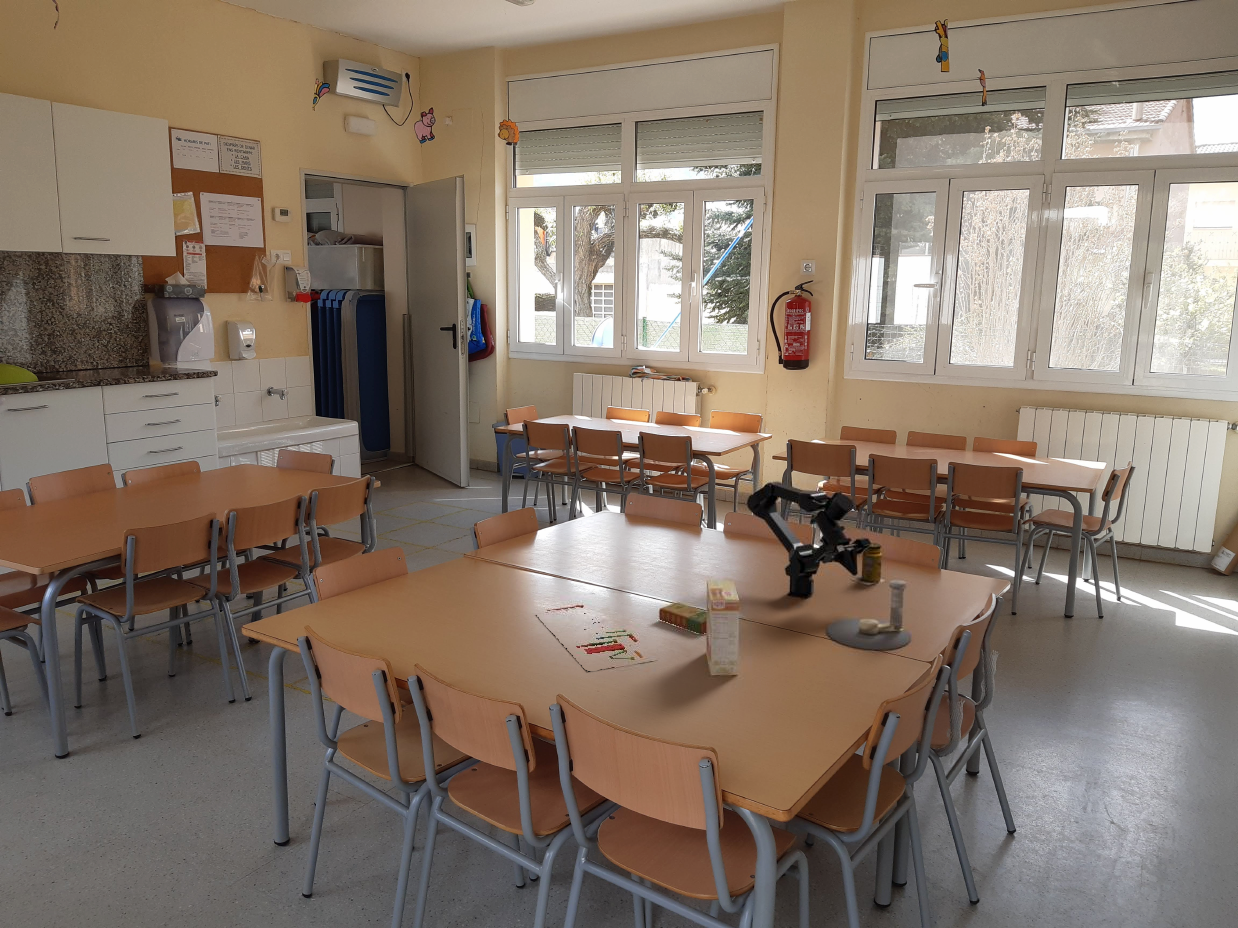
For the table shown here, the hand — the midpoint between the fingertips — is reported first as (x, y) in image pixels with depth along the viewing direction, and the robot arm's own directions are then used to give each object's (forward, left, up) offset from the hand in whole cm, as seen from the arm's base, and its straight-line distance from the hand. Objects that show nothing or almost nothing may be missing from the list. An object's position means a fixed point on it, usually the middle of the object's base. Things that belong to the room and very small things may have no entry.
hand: (855, 575), depth 255 cm
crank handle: (+10, -11, -11) cm, 19 cm away
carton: (-39, -30, -13) cm, 50 cm away
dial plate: (+8, -13, -12) cm, 20 cm away
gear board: (-58, -50, -13) cm, 78 cm away
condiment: (-5, +35, -12) cm, 37 cm away
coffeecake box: (-20, -51, -12) cm, 56 cm away
